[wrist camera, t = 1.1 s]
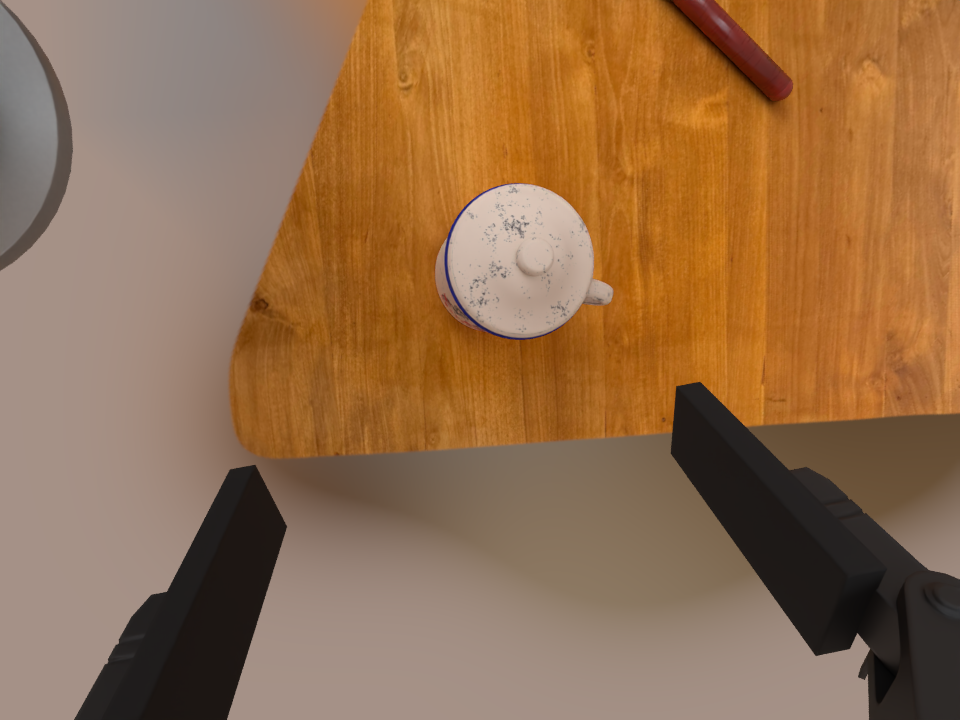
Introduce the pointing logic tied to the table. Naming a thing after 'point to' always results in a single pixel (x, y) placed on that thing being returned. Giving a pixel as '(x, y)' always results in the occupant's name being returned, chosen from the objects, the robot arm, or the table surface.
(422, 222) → the table surface
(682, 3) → the spatula
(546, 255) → the teacup with lid
